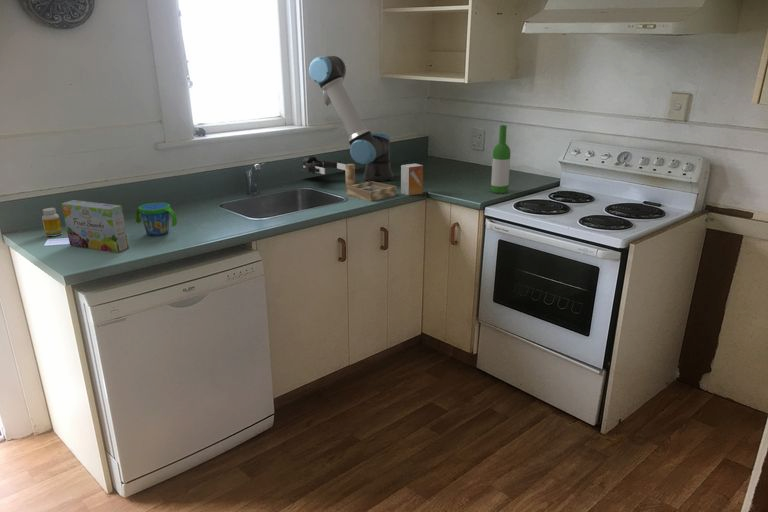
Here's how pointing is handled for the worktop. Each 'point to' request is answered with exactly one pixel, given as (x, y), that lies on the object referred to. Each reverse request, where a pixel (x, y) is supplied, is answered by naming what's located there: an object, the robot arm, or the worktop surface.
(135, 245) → the worktop surface
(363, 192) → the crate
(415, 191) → the small box
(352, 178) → the peg
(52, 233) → the supplement bottle
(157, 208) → the snack cup
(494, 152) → the wine bottle
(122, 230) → the snack box
